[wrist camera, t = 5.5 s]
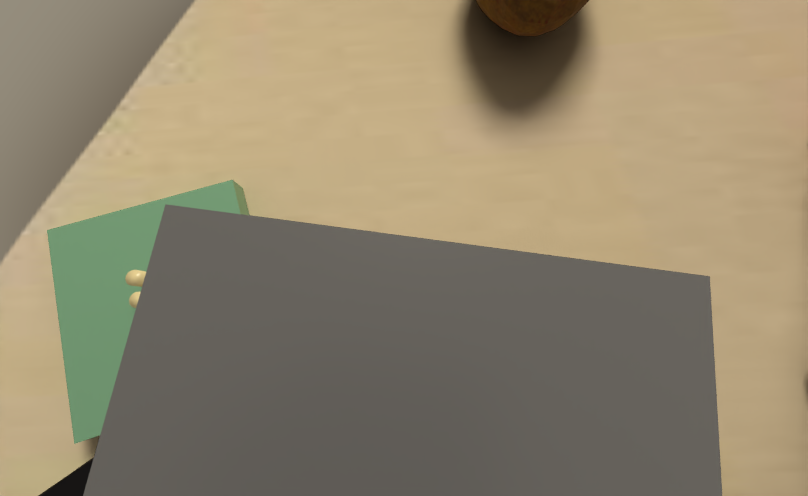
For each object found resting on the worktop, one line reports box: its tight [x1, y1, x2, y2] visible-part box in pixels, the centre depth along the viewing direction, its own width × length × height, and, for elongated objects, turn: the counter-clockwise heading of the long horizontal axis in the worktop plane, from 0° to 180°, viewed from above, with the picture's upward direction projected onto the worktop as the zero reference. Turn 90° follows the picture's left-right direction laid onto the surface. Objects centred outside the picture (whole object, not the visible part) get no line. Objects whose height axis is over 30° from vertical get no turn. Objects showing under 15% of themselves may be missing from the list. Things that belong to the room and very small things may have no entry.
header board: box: [47, 180, 249, 444], centre depth 15 cm, size 10×9×3 cm
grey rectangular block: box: [83, 204, 722, 496], centre depth 9 cm, size 5×5×12 cm
